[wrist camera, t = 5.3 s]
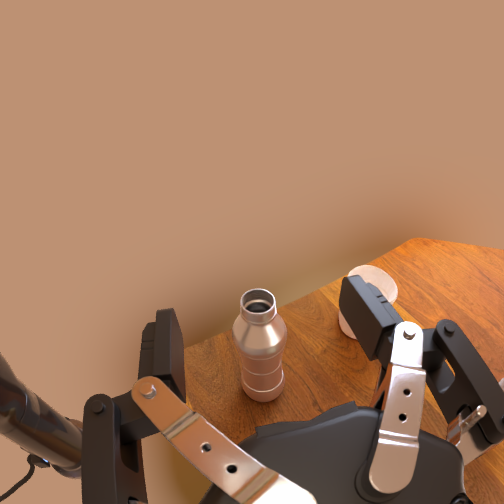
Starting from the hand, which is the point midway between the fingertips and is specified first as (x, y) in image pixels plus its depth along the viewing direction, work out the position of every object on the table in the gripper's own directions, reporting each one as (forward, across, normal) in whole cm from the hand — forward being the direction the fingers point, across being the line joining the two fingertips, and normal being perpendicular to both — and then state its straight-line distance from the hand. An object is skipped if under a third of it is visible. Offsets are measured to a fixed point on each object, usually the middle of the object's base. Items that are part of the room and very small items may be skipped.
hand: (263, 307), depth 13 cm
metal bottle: (+14, +2, -31) cm, 34 cm away
